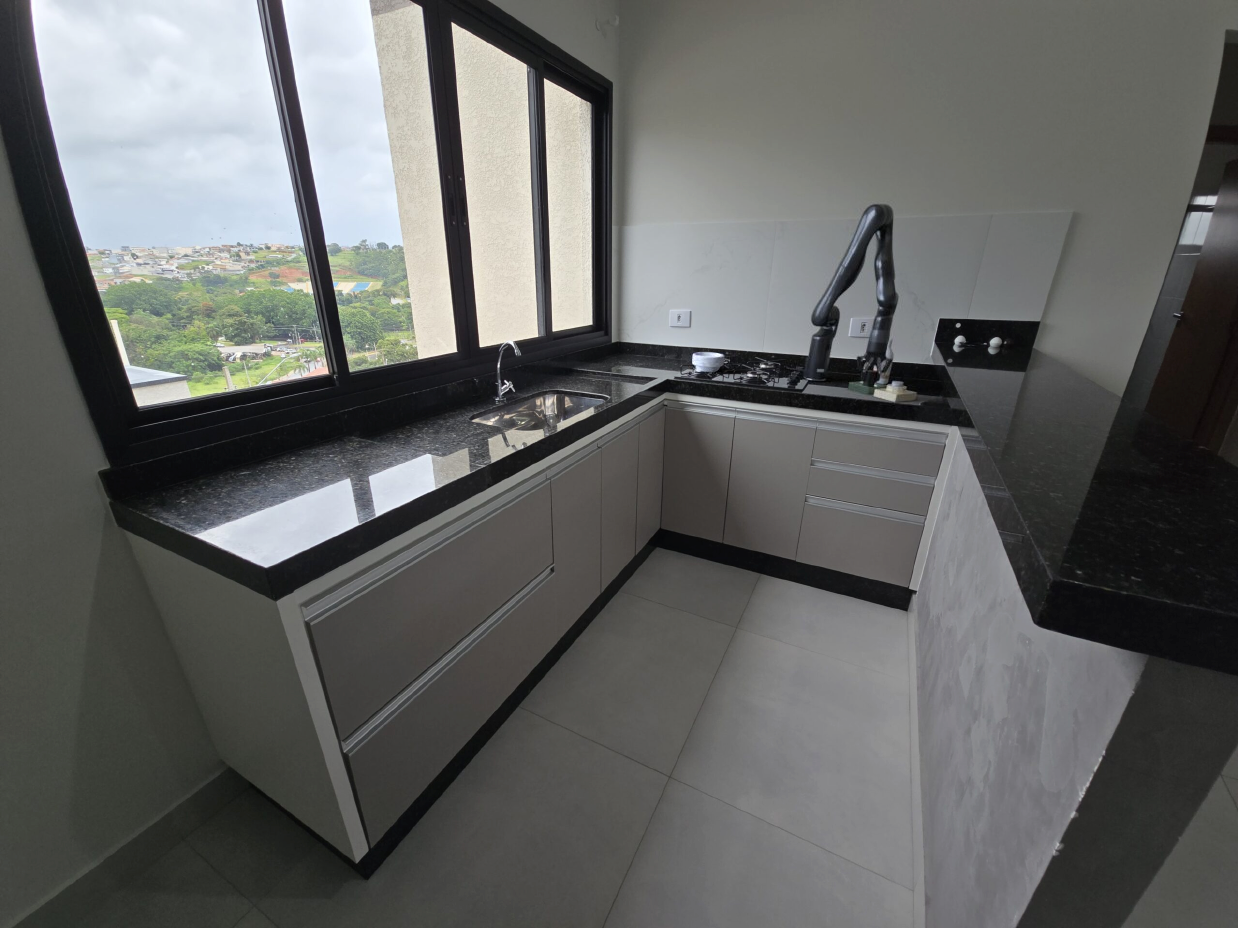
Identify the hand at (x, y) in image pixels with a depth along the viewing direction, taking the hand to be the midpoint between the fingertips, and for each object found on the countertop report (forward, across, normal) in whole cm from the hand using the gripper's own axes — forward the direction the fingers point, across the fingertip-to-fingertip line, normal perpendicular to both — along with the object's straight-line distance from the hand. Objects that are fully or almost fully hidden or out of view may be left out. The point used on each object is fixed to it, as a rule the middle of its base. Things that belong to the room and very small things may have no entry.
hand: (869, 381), depth 215 cm
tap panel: (+4, 0, 0) cm, 4 cm away
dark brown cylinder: (+1, 0, 0) cm, 1 cm away
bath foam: (+4, -10, -22) cm, 24 cm away
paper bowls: (+5, +69, -18) cm, 72 cm away
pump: (0, -8, +10) cm, 13 cm away
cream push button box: (+4, -8, +10) cm, 14 cm away
